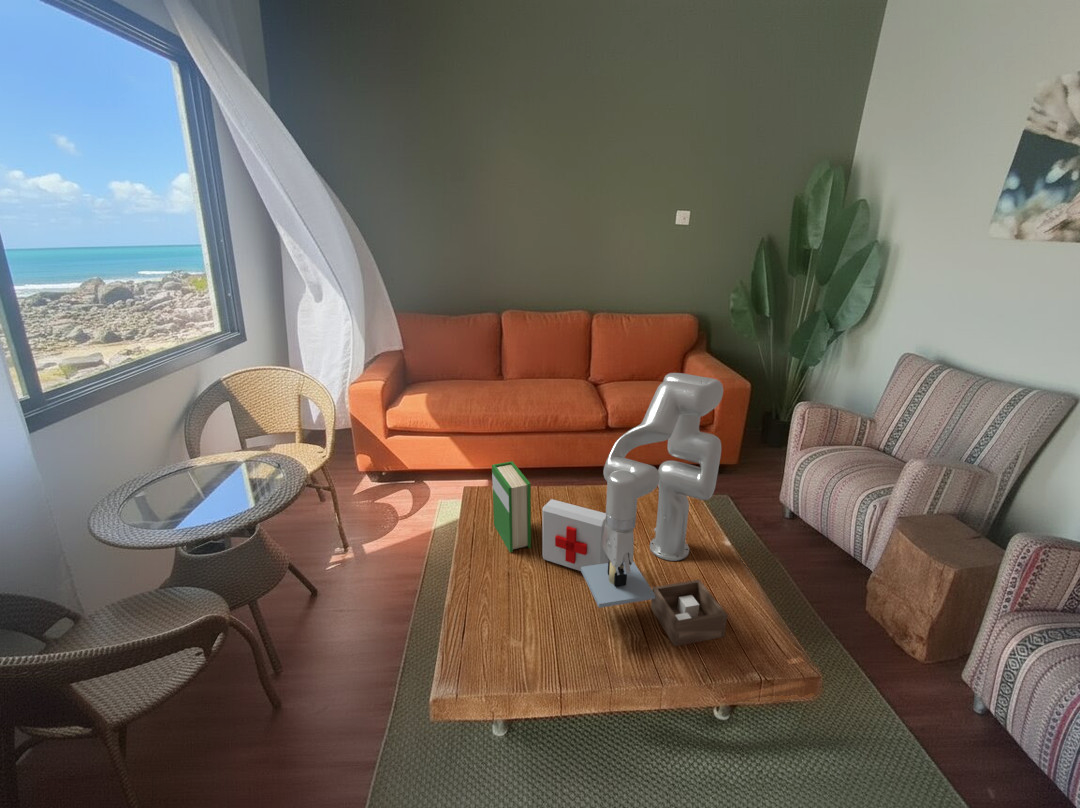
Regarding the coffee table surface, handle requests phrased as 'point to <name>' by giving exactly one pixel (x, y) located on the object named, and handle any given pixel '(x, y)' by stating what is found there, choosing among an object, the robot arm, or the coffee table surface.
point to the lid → (612, 595)
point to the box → (690, 629)
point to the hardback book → (511, 505)
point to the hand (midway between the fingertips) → (616, 579)
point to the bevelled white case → (572, 535)
